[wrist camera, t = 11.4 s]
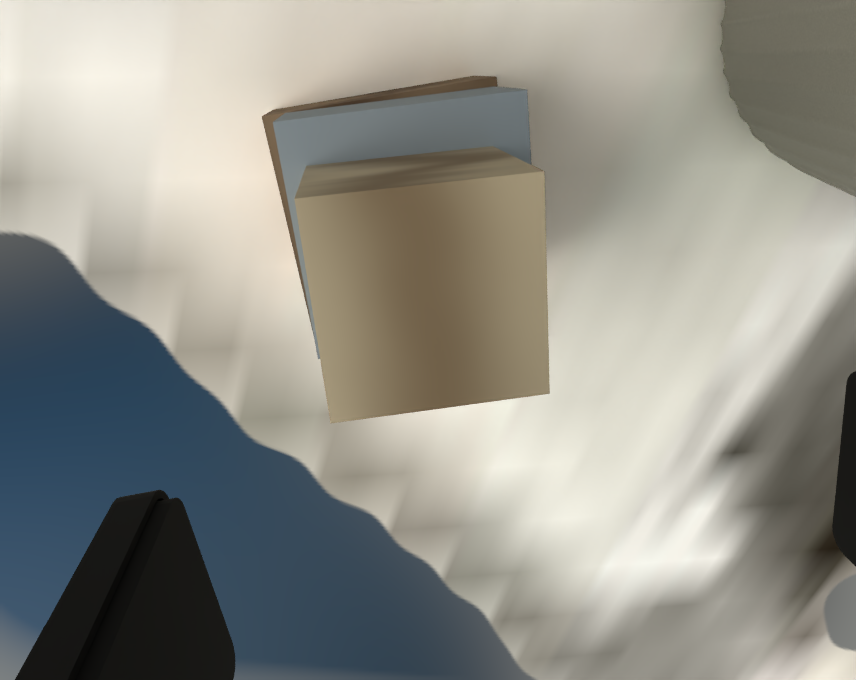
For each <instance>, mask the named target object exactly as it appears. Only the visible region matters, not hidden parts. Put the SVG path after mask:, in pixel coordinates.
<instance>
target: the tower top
mask: <svg viewBox="0 0 856 680" xmlns="http://www.w3.org/2000/svg"><path fill="white" fill-rule="evenodd" d="M273 126H274V131H275V136H276V142H277V147H278V152H279V157H280V162H281V168H282V173H283V178H284V183H285V188H286V194H287V199H288V204H289V209H290V214H291V220H292V225H293V230H294V235H295V240H296V246H297V251H298V256H299V261H300V266H301V272H302V277H303V282H304V287H305V292H306V298H307V303H308V308H309V313H310V318H311V324H312V329H313V334H314V339H315V344H316V350H317V355H318V359H320V354H319V348H318V342H317V336H316V330H315V323H314V317H313V311H312V305H311V299H310V293H309V286H308V280H307V274H306V268H305V262H304V256H303V249H302V243H301V237H300V231H299V225H298V219H297V212H296V206H295V200H294V198H295V195H296V193H297V190H298V187H299V184H300V181H301V179H302V176H303V173H304V170H305V168H306V166H309V165H319V164H328V163H338V162H347V161H357V160H366V159H375V158H385V157H394V156H404V155H413V154H423V153H432V152H441V151H451V150H460V149H470V148H479V147H489V146H494V147H496V148H498V149H500V150H502V151H504V152H506V153H508V154H510V155H512V156H514V157H516V158H518V159H520V160H522V161H524V162H526V163H528V164H530V165H531V150H530V132H529V114H528V96H527V90H526V89H516V88H505V87H495V86H493V87H485V88H478V89H470V90H462V91H454V92H446V93H438V94H430V95H422V96H415V97H407V98H399V99H391V100H383V101H375V102H367V103H359V104H352V105H344V106H336V107H328V108H320V109H312V110H304V111H297V112H289V113H284V114H283V115H282V116H280V117H279V118H278V119H276V120H275V121H274V122H273Z"/></svg>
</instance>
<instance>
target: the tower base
mask: <svg viewBox="0 0 856 680" xmlns="http://www.w3.org/2000/svg"><path fill="white" fill-rule="evenodd" d="M493 86H495V87H497V78H496V77H493V76H470V77H464V78H458V79H452V80H447V81H441V82H435V83H429V84H423V85H417V86H411V87H405V88H399V89H393V90H388V91H382V92H376V93H370V94H364V95H358V96H352V97H346V98H340V99H335V100H329V101H323V102H317V103H311V104H305V105H299V106H293V107H287V108H282V109H276V110H272V111H271V112H269V113H267V114H265V115H264V116H262V120H263V124H264V128H265V132H266V137H267V141H268V145H269V149H270V153H271V158H272V162H273V166H274V170H275V174H276V179H277V183H278V187H279V191H280V196H281V200H282V204H283V208H284V212H285V217H286V221H287V225H288V229H289V233H290V238H291V242H292V246H293V250H294V255H295V259H296V263H297V267H298V271H299V276H300V280H301V284H302V288H303V292H304V297H305V301H306V305H307V309H308V314H309V318H310V313H309V308H308V303H307V298H306V292H305V287H304V282H303V277H302V272H301V266H300V261H299V256H298V251H297V246H296V240H295V235H294V230H293V225H292V220H291V214H290V209H289V204H288V199H287V194H286V188H285V183H284V178H283V173H282V168H281V162H280V157H279V152H278V147H277V142H276V136H275V131H274V126H273V122H274V121H275V120H276V119H278V118H279V117H280V116H282V115H283V114H284V113H289V112H297V111H304V110H312V109H320V108H328V107H336V106H344V105H352V104H359V103H367V102H375V101H383V100H391V99H399V98H407V97H415V96H422V95H430V94H438V93H446V92H454V91H462V90H470V89H478V88H485V87H493ZM310 322H311V318H310ZM311 326H312V324H311ZM312 330H313V329H312ZM313 335H314V334H313Z"/></svg>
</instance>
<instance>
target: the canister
mask: <svg viewBox="0 0 856 680" xmlns="http://www.w3.org/2000/svg"><path fill="white" fill-rule="evenodd" d="M725 3H726V5H725V13H724V17H723V20H722V22H721V27H722V45H721V48H720V50H721V52H722V54H723V59H724V70H723V73H724V75H725V77H726V78H727V81H728V84H729V94H730V97H731V98H732V99H733V100H734V101H735V103H736V105H737V107H738V113H739V116H740V117H741V118H742V119H743V120H744V121H745V122H746V123H747V124H748V125H749V128H750V130H751V132H752V134H753V135H754V136H755V137H756V138H757V139H758V140H760V141H761V142H763V143H764V144H765V146H766V147H767V148H768V149H769V151H770V152H772V153H773V154H774V155H776V156H777V157H779V158H781V159H783V160H785V161H787V162H788V163H789V164H790V165H792V166H793V167H795V168H797V169H798V170H800V171H802V172H804V173H806V174H808V175H810V176H812V177H815V178H817V179H819V180H821V181H823V182H825V183H827V184H829V185H831V186H834V187H836V188H838V189H840V190H842V191H844V192H846V193H849V194H851V195H853V196H855V197H856V0H725Z"/></svg>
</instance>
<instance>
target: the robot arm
mask: <svg viewBox="0 0 856 680" xmlns="http://www.w3.org/2000/svg"><path fill="white" fill-rule="evenodd" d="M833 535H834V538H835V541H836V543H837V545H838V547H839V549H840V550H841V552H842V553H843V554H844V555H845V556H846V557H847V558H848V559H849V560H850V561H851V562H852V563H853V564H854V565H855V566H856V372H853V373H852V374H850V376H849V377H848V380H847V385H846V395H845V405H844V415H843V425H842V435H841V445H840V455H839V465H838V475H837V485H836V495H835V505H834V516H833ZM234 672H235V653H234V646H233V643H232V640H231V637H230V634H229V631H228V628H227V626H226V623H225V620H224V617H223V614H222V612H221V609H220V606H219V603H218V600H217V597H216V595H215V592H214V589H213V586H212V583H211V580H210V578H209V575H208V572H207V569H206V567H205V564H204V561H203V558H202V555H201V553H200V550H199V547H198V544H197V541H196V538H195V535H194V533H193V530H192V527H191V524H190V521H189V519H188V516H187V513H186V510H185V507H184V505H183V503H182V501H181V500H180V499H179V498H172V499H169V498H168V496H167V495H166V493H165V492H164V491H162V490H156V491H151V492H146V493H140V494H135V495H130V496H124V497H120V498H117V499H116V500H115V501H114V502H113V504H112V505H111V507H110V509H109V511H108V513H107V514H106V516H105V518H104V520H103V522H102V524H101V525H100V527H99V529H98V531H97V533H96V534H95V536H94V538H93V540H92V542H91V543H90V545H89V547H88V549H87V551H86V553H85V554H84V556H83V558H82V560H81V562H80V564H79V565H78V567H77V569H76V571H75V572H74V574H73V576H72V578H71V580H70V582H69V583H68V585H67V587H66V589H65V591H64V592H63V594H62V596H61V598H60V600H59V602H58V603H57V605H56V607H55V609H54V611H53V612H52V614H51V616H50V618H49V620H48V622H47V623H46V625H45V626H44V628H43V630H42V632H41V634H40V635H39V637H38V639H37V641H36V643H35V645H34V646H33V648H32V650H31V652H30V653H29V655H28V657H27V659H26V661H25V663H24V665H23V666H22V668H21V670H20V672H19V673H18V675H17V677H16V679H15V680H233V678H234Z"/></svg>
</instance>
